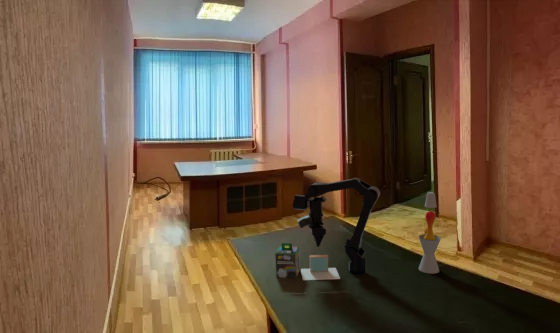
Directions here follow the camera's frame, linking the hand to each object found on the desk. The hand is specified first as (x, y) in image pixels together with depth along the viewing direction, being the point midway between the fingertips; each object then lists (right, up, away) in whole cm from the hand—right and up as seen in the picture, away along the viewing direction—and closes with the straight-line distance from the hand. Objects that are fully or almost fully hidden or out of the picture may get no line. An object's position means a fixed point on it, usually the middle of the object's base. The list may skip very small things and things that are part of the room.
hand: (316, 243), depth 174 cm
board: (+1, -12, -8) cm, 14 cm away
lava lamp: (+50, -11, -5) cm, 51 cm away
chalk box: (-13, -13, -6) cm, 19 cm away
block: (+1, -11, -5) cm, 12 cm away
